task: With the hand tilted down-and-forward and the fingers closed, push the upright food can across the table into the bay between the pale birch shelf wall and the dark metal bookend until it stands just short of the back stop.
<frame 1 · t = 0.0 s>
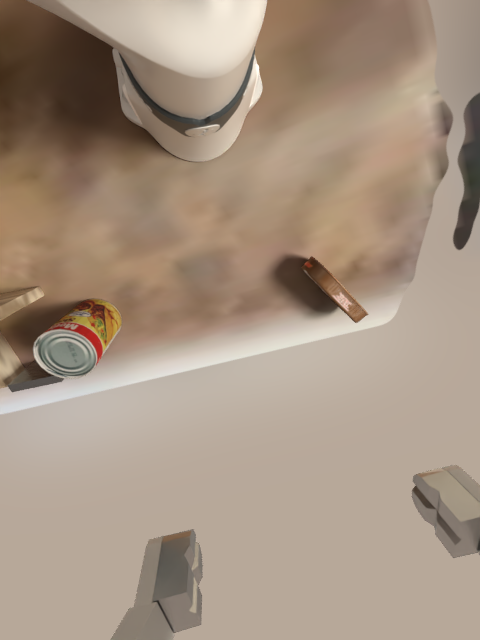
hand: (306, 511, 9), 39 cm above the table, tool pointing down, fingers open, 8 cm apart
tin: (323, 284, 48), on the table
shelf wall: (18, 335, 44), on the table
bookend: (45, 362, 47), on the table
canned food: (99, 318, 45), on the table
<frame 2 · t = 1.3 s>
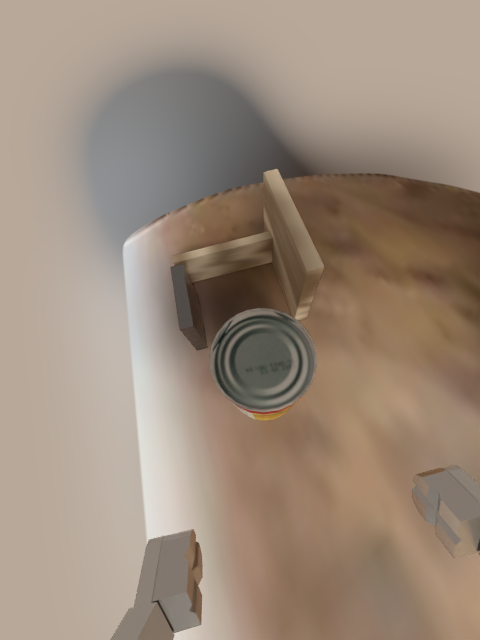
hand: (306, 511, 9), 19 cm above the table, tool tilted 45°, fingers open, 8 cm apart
shelf wall: (235, 286, 35), on the table
bookend: (194, 306, 34), on the table
canned food: (263, 384, 29), on the table
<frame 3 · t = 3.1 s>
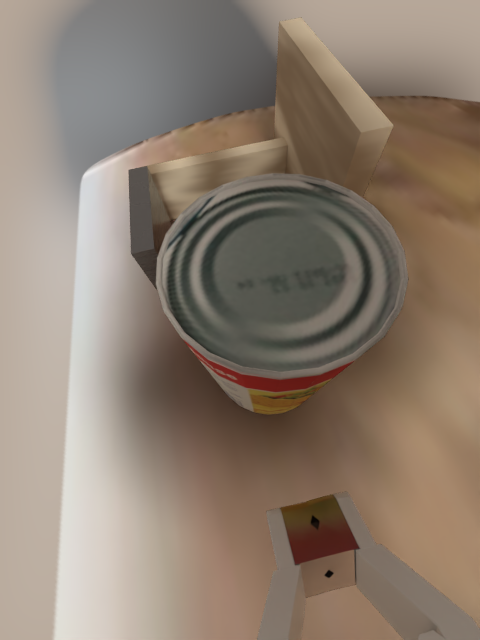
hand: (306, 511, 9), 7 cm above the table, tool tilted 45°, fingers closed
shelf wall: (231, 224, 25), on the table
bookend: (170, 249, 24), on the table
canned food: (267, 359, 19), on the table
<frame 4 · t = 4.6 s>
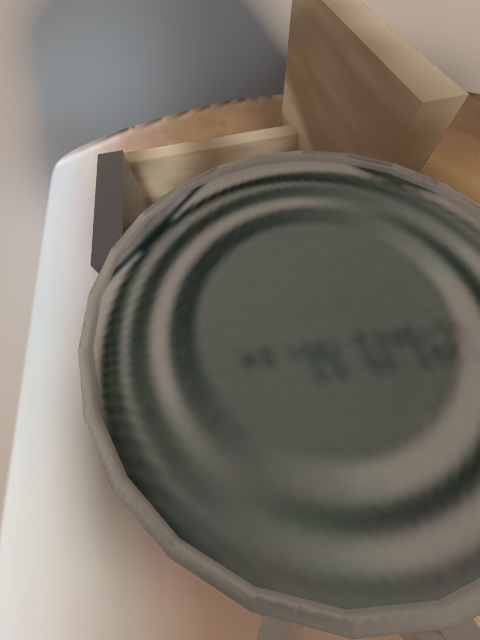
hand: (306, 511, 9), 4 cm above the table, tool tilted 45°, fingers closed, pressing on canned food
shelf wall: (227, 227, 21), on the table
bookend: (154, 255, 20), on the table
canned food: (269, 399, 15), on the table, touching gripper
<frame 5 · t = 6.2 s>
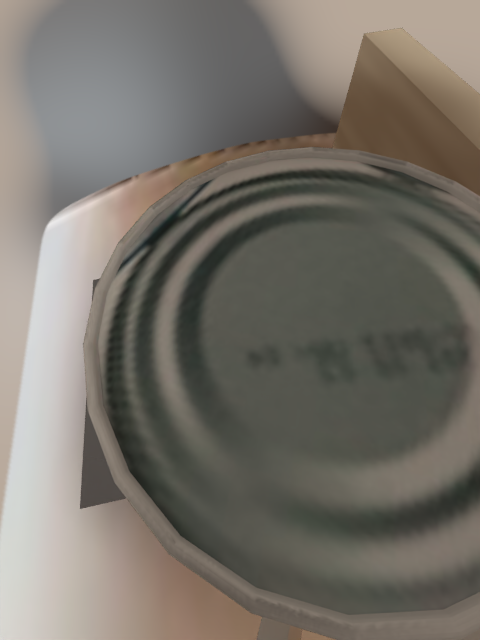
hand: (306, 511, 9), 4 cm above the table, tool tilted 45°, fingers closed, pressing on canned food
shelf wall: (253, 320, 17), on the table
bookend: (165, 360, 16), on the table
canned food: (272, 398, 15), on the table, touching gripper
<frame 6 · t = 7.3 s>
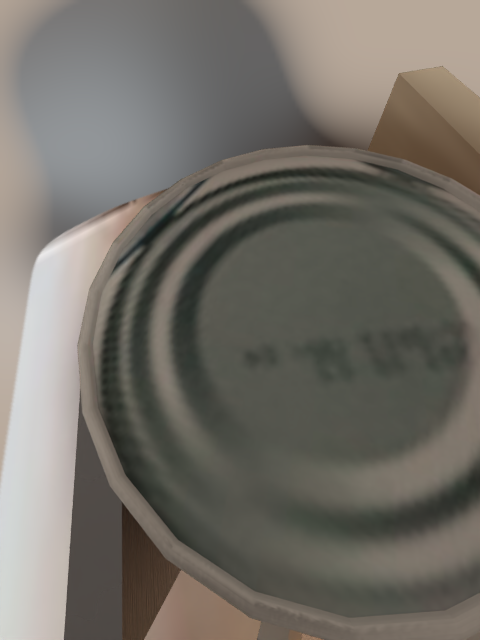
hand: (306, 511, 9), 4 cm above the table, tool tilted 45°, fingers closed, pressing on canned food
shelf wall: (262, 370, 16), on the table
bookend: (165, 417, 15), on the table
canned food: (270, 398, 15), on the table, touching gripper
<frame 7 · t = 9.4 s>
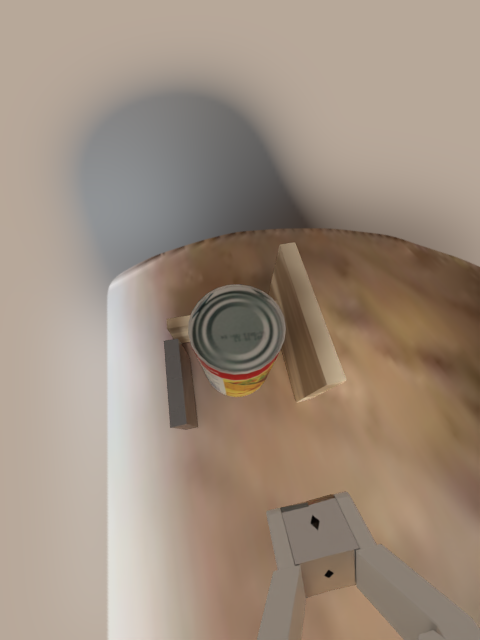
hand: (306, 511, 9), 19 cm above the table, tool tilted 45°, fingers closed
shelf wall: (233, 351, 32), on the table
bookend: (185, 372, 30), on the table
canned food: (236, 364, 31), on the table
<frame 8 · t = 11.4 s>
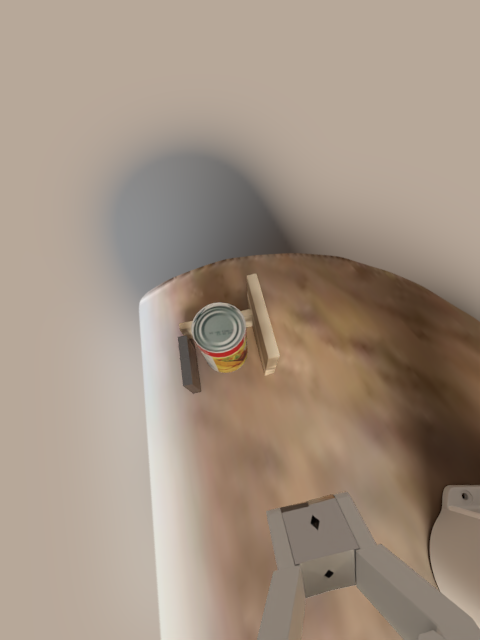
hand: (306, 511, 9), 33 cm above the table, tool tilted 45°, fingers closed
shelf wall: (224, 343, 47), on the table
bookend: (192, 358, 46), on the table
canned food: (226, 352, 47), on the table
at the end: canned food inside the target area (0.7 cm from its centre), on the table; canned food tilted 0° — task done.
